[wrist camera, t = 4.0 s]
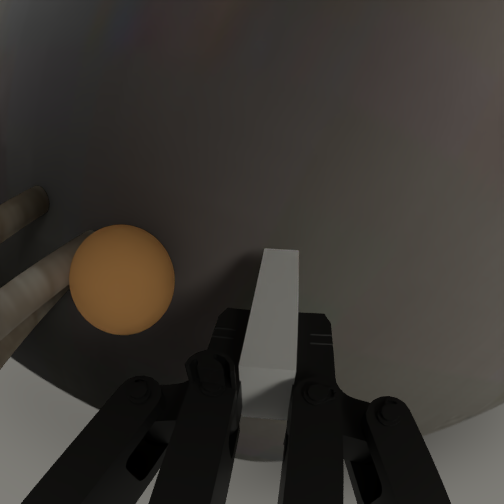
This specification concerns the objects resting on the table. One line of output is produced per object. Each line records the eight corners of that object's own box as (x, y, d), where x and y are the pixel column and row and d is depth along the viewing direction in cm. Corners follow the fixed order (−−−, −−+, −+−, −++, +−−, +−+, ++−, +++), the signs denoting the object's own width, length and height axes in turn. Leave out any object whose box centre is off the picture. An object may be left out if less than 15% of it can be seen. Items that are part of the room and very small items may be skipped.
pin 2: (48, 264, 18) (-30, 343, 10) (66, 267, 18) (-15, 353, 10) (56, 287, 19) (-14, 367, 11) (74, 290, 19) (2, 377, 11)
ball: (106, 266, 10) (185, 209, 14) (35, 250, 11) (108, 207, 16) (147, 372, 12) (201, 303, 17) (73, 338, 14) (129, 287, 18)
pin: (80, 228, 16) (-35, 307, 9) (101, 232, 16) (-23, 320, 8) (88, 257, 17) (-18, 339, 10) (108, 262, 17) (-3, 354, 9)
